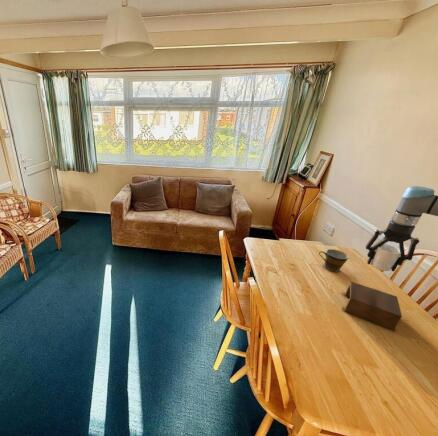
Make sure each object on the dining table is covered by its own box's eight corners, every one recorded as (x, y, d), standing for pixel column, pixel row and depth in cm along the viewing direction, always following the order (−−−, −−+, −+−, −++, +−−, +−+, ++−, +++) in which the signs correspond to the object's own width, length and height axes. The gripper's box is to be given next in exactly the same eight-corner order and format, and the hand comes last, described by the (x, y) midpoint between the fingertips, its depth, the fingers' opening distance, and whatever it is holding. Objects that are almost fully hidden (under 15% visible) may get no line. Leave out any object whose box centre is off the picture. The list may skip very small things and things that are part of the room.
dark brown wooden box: (389, 309, 105) (397, 296, 101) (393, 330, 95) (402, 316, 91) (344, 293, 114) (350, 281, 110) (344, 311, 104) (350, 298, 101)
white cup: (394, 268, 106) (404, 249, 101) (388, 274, 102) (399, 255, 97) (372, 259, 112) (380, 242, 107) (366, 265, 108) (375, 247, 103)
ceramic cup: (340, 266, 134) (347, 252, 130) (343, 275, 126) (350, 261, 122) (314, 259, 140) (319, 246, 136) (315, 268, 132) (320, 254, 128)
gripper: (371, 219, 100) (351, 261, 110) (441, 233, 88) (413, 279, 98) (370, 213, 105) (352, 254, 115) (437, 226, 93) (410, 271, 103)
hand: (380, 266), depth 106 cm, fingers closed on white cup, 8 cm apart
